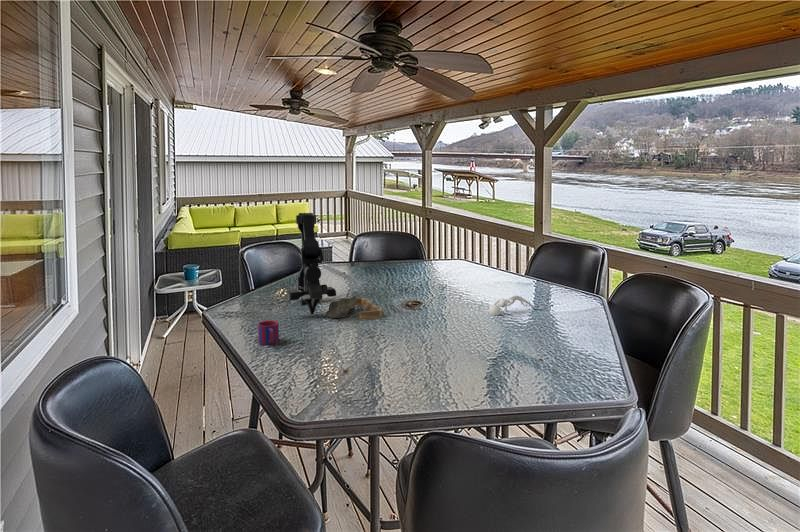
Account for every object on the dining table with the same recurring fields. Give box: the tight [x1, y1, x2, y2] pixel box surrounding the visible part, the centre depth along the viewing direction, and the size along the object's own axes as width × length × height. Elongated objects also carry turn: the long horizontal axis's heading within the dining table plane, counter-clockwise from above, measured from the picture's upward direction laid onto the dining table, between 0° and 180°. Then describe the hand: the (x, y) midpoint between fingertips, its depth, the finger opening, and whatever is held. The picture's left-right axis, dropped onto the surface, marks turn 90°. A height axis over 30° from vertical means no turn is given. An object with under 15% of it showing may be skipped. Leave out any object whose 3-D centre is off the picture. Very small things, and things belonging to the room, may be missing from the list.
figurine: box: [488, 295, 543, 316], centre depth 218 cm, size 9×10×25 cm
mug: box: [257, 320, 280, 346], centre depth 173 cm, size 7×10×7 cm
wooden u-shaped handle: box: [355, 297, 383, 321], centre depth 215 cm, size 23×10×3 cm, turn 24°
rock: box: [326, 295, 357, 319], centre depth 210 cm, size 17×7×10 cm
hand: (312, 314), depth 207 cm, fingers closed
